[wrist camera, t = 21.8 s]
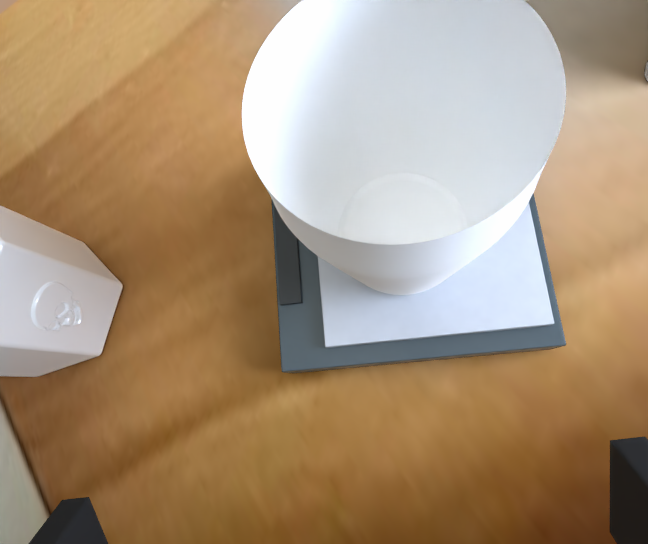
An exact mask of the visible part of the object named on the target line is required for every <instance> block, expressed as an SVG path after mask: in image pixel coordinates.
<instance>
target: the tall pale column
mask: <svg viewBox="0 0 648 544" xmlns="http://www.w3.org/2000/svg"><path fill="white" fill-rule="evenodd" d="M645 78H646V79H647V81H648V62H647V63H646V68H645Z"/></svg>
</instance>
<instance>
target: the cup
mask: <svg viewBox="0 0 648 544" xmlns="http://www.w3.org/2000/svg"><path fill="white" fill-rule="evenodd" d="M565 103H566V80H565V72H564V66H563V63H562V59H561V55H560V52H559V50H558V47H557V44H556V42H555V40H554V38H553V36H552V34H551V32H550V30H549V29H548V27H547V26H546V24H545V23H544V21H543V20H542V18H541V17H540V16H539V15H538V14H537V12H536V11H535V10H534V9H533V8H532V7H531V6H530V5H529V4H528V3H527V2H526V1H525V0H302V1H301V2H300V3H299V4H298V5H296V6H295V7H294V8H293V9H292V10H291V11H290V12H289V13H288V14H286V15H285V16H284V17H283V18H282V20H281V21H280V22H279V23H278V24H277V25H276V26H275V28H274V29H273V30H272V32H271V33H270V34H269V36H268V37H267V38H266V40H265V41H264V43H263V45H262V46H261V48H260V50H259V51H258V53H257V55H256V58H255V60H254V62H253V64H252V67H251V69H250V72H249V75H248V78H247V82H246V85H245V90H244V96H243V104H242V127H243V133H244V140H245V144H246V147H247V151H248V154H249V157H250V159H251V162H252V164H253V166H254V168H255V170H256V172H257V174H258V176H259V178H260V179H261V181H262V182H263V184H264V186H265V187H266V189H267V191H268V192H269V194H270V196H271V198H272V200H273V202H274V205H275V207H276V209H277V211H278V213H279V215H280V216H281V218H282V220H283V221H284V222H285V224H286V225H287V227H288V228H289V229H290V230H291V232H292V233H293V234H294V235H295V236H296V237H297V238H298V239H299V240H300V241H301V242H302V243H303V244H304V245H305V246H306V247H307V248H308V249H309V250H311V251H312V252H313V253H315V254H316V255H317V256H318V257H320V258H322V259H323V260H325V261H326V262H328V263H330V264H331V265H333V266H335V267H336V268H338V269H339V270H341V271H343V272H344V273H346V274H348V275H350V276H351V277H353V278H355V279H356V280H358V281H360V282H361V283H363V284H365V285H366V286H368V287H370V288H372V289H374V290H377V291H379V292H383V293H386V294H392V295H411V294H416V293H420V292H424V291H426V290H429V289H431V288H433V287H435V286H437V285H438V284H440V283H441V282H443V281H444V280H446V279H447V278H448V277H450V276H451V275H453V274H454V273H455V272H457V271H458V270H460V269H461V268H463V267H464V266H465V265H467V264H468V263H470V262H471V261H472V260H474V259H475V258H477V257H478V256H479V255H481V254H482V253H484V252H485V251H486V250H488V249H489V248H490V247H491V246H492V245H494V244H495V243H496V242H497V241H498V240H499V239H500V238H501V237H502V236H503V235H504V234H505V233H506V232H507V231H508V230H509V229H510V228H511V227H512V225H513V224H514V223H515V222H516V220H517V219H518V218H519V216H520V215H521V214H522V212H523V210H524V209H525V207H526V206H527V204H528V202H529V200H530V198H531V196H532V194H533V192H534V190H535V187H536V185H537V182H538V179H539V177H540V175H541V172H542V170H543V168H544V166H545V164H546V161H547V159H548V157H549V155H550V153H551V151H552V149H553V147H554V145H555V143H556V140H557V137H558V134H559V132H560V129H561V125H562V121H563V117H564V112H565Z"/></svg>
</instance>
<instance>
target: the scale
mask: <svg viewBox="0 0 648 544" xmlns="http://www.w3.org/2000/svg"><path fill="white" fill-rule="evenodd" d="M272 214H273V231H274V249H275V266H276V283H277V300H278V317H279V334H280V351H281V368H282V372H286V373H302V372H313V371H323V370H334V369H345V368H356V367H366V366H377V365H388V364H398V363H409V362H420V361H430V360H441V359H452V358H462V357H473V356H484V355H494V354H505V353H516V352H527V351H537V350H548V349H554V348H557V347H561V346H565V345H566V342H565V337H564V333H563V328H562V324H561V319H560V314H559V310H558V305H557V300H556V296H555V291H554V286H553V282H552V277H551V272H550V268H549V263H548V259H547V254H546V249H545V245H544V240H543V235H542V231H541V226H540V221H539V217H538V212H537V207H536V203H535V198H534V194H532V196H531V198H530V200H529V202H528V204H527V206H526V207H525V209H524V210H523V212H522V214H521V215H520V216H519V218H518V219H517V220H516V222H515V223H514V224H513V225H512V227H511V228H510V229H509V230H508V231H507V232H506V233H505V234H504V235H503V236H502V237H501V238H500V239H499V240H498V241H497V242H496V243H495V244H494V245H492V246H491V247H490V248H489V249H488V250H486V251H485V252H484V253H482V254H481V255H479V256H478V257H477V258H475V259H474V260H472V261H471V262H470V263H468V264H467V265H465V266H464V267H463V268H461V269H460V270H458V271H457V272H455V273H454V274H453V275H451V276H450V277H448V278H447V279H446V280H444V281H443V282H441V283H440V284H438V285H437V286H435V287H433V288H431V289H429V290H426V291H424V292H420V293H416V294H411V295H392V294H386V293H383V292H379V291H377V290H374V289H372V288H370V287H368V286H366V285H365V284H363V283H361V282H360V281H358V280H356V279H355V278H353V277H351V276H350V275H348V274H346V273H344V272H343V271H341V270H339V269H338V268H336V267H335V266H333V265H331V264H330V263H328V262H326V261H325V260H323V259H322V258H320V257H318V256H317V255H316V254H315V253H313V252H312V251H311V250H309V249H308V248H307V247H306V246H305V245H304V244H303V243H302V242H301V241H300V240H299V239H298V238H297V237H296V236H295V235H294V234H293V233H292V232H291V230H290V229H289V228H288V227H287V225H286V224H285V222H284V221H283V220H282V218H281V216H280V215H279V213H278V211H277V209H276V207H275V205H274V202H273V200H272Z"/></svg>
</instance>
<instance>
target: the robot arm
mask: <svg viewBox="0 0 648 544" xmlns="http://www.w3.org/2000/svg"><path fill="white" fill-rule="evenodd" d="M610 533H611V535H612V536H613V538H614V539H615V541H616V542H617V544H648V440H647V438H646V437H638V438H629V439H619V440H610ZM29 544H108V542H107V540H106V537H105V535H104V533H103V530H102V528H101V525H100V523H99V521H98V518H97V516H96V513H95V511H94V508H93V506H92V504H91V501H90V499H89V497H86V498H76V499H67V500H62V501H61V502H60V503H59V505H58V506H57V507H56V509H55V510H54V511H53V513H52V514H51V515H50V517H49V518H48V519H47V520H46V522H45V523H44V524H43V526H42V527H41V528H40V530H39V531H38V532H37V534H36V535H35V536H34V537H33V539H32V540H31V541H30V543H29Z"/></svg>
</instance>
